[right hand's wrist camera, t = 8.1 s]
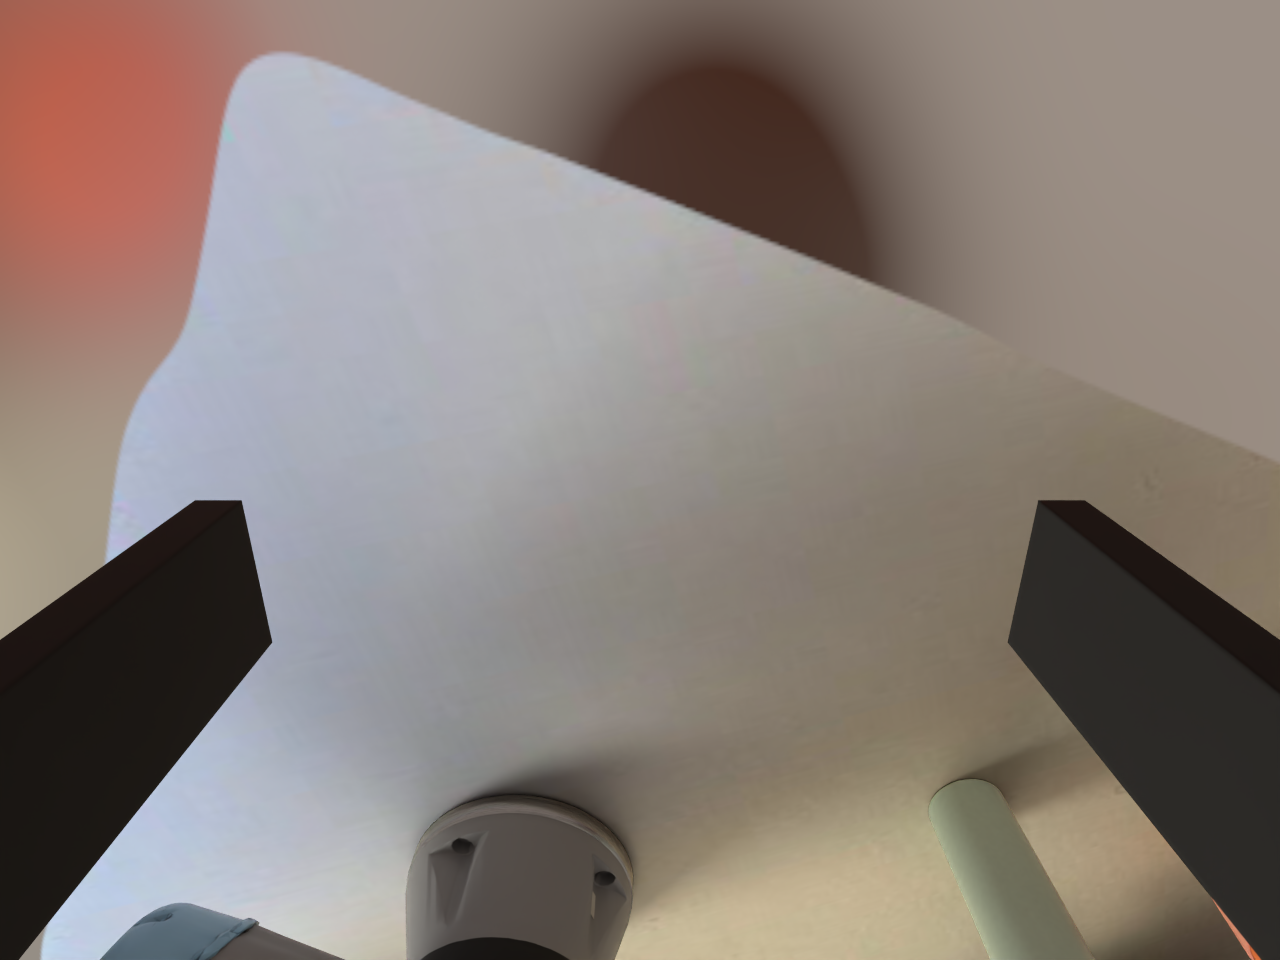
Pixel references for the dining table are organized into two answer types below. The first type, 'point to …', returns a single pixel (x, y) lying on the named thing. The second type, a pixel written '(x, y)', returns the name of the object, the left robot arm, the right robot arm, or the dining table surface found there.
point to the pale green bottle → (1002, 876)
